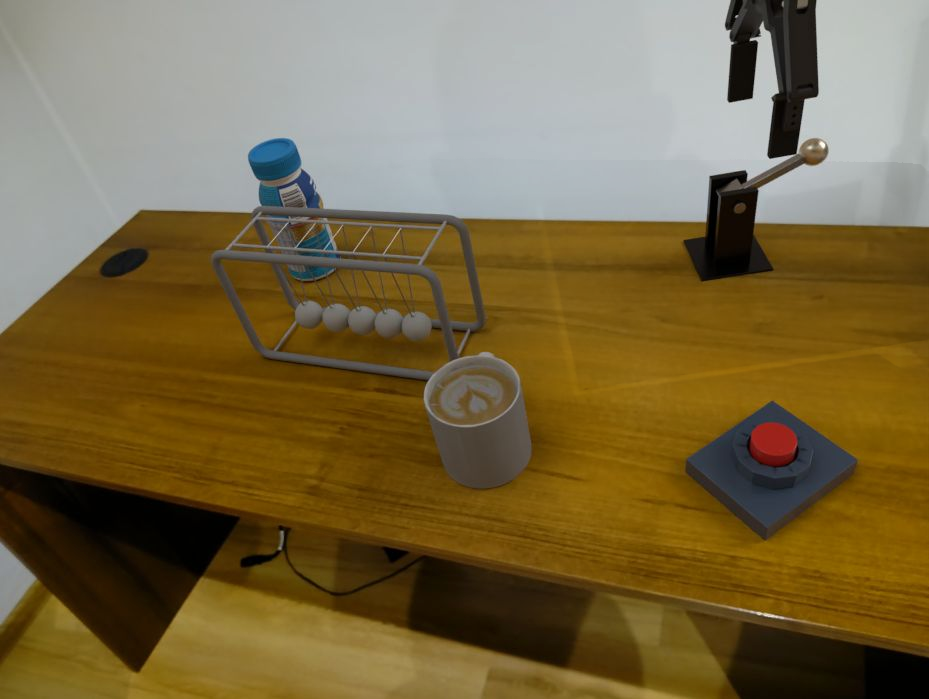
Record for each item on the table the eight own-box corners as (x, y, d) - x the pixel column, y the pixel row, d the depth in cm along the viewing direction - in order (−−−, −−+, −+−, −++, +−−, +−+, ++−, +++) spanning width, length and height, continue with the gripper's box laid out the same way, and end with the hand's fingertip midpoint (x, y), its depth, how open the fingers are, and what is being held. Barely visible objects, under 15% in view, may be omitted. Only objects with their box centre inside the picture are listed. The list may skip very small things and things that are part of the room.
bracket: (749, 236, 98) (759, 158, 90) (772, 276, 91) (784, 196, 83) (683, 246, 99) (686, 170, 91) (700, 286, 92) (706, 208, 84)
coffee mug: (515, 497, 74) (503, 434, 67) (428, 479, 77) (407, 418, 71) (550, 402, 82) (542, 338, 76) (470, 389, 86) (455, 328, 79)
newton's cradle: (257, 358, 97) (202, 252, 85) (294, 308, 104) (248, 203, 92) (463, 387, 86) (434, 270, 74) (489, 329, 93) (466, 213, 81)
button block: (769, 413, 76) (774, 388, 73) (854, 473, 69) (862, 447, 66) (684, 472, 72) (686, 447, 70) (764, 541, 66) (769, 516, 63)
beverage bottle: (280, 283, 109) (229, 166, 96) (302, 250, 115) (256, 135, 101) (331, 284, 107) (285, 164, 93) (350, 250, 112) (310, 132, 99)
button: (769, 427, 70) (771, 415, 69) (804, 452, 68) (807, 440, 66) (740, 448, 69) (741, 436, 68) (774, 474, 66) (776, 462, 65)
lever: (825, 148, 86) (817, 128, 84) (836, 161, 84) (828, 140, 82) (722, 203, 91) (712, 185, 89) (730, 217, 89) (720, 199, 87)
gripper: (702, -113, 74) (694, 85, 88) (791, -48, 56) (763, 189, 70) (776, -129, 73) (756, 74, 88) (891, -68, 55) (842, 176, 69)
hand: (759, 125), depth 79 cm, fingers open, 13 cm apart
